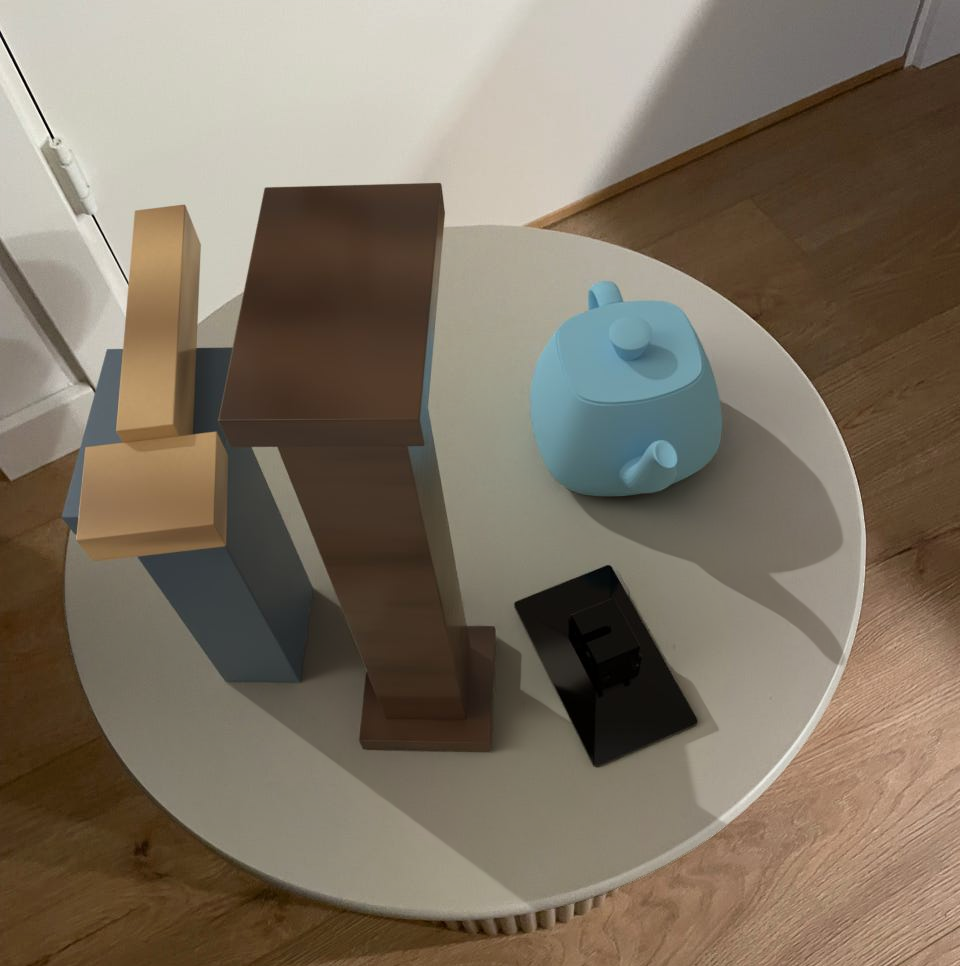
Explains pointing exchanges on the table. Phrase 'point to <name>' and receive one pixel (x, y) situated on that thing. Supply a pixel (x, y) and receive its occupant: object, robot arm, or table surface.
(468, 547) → the table surface
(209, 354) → the blue-grey tall block
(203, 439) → the mallet
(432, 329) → the dark wood pedestal
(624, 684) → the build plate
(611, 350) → the teapot
